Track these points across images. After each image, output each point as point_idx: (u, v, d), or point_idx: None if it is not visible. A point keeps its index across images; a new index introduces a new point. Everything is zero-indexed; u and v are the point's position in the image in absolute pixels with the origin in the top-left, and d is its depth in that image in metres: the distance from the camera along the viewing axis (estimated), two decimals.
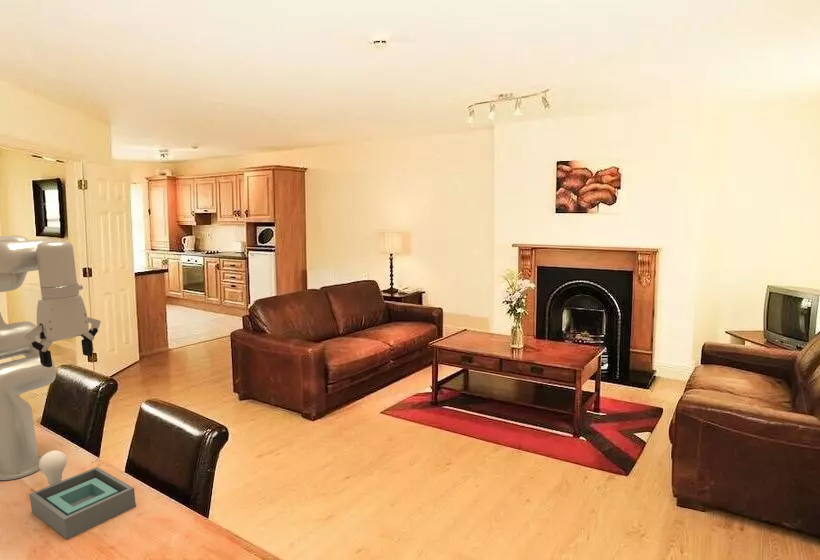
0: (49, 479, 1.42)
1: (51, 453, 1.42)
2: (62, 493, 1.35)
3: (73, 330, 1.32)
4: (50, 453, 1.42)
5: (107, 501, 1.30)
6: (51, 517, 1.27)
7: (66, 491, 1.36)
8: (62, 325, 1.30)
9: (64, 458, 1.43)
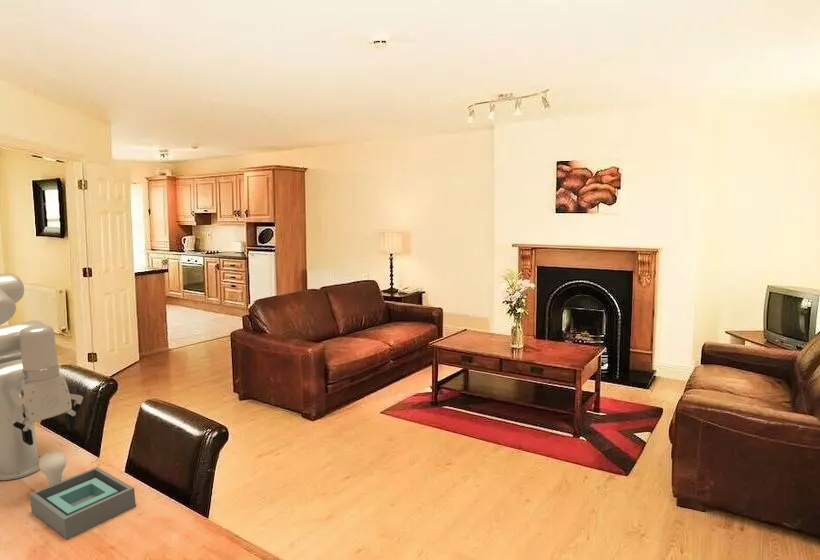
0: (49, 479, 1.42)
1: (51, 453, 1.42)
2: (62, 493, 1.35)
3: None
4: (50, 453, 1.42)
5: (107, 501, 1.30)
6: (51, 517, 1.27)
7: (66, 491, 1.36)
8: None
9: (64, 458, 1.43)
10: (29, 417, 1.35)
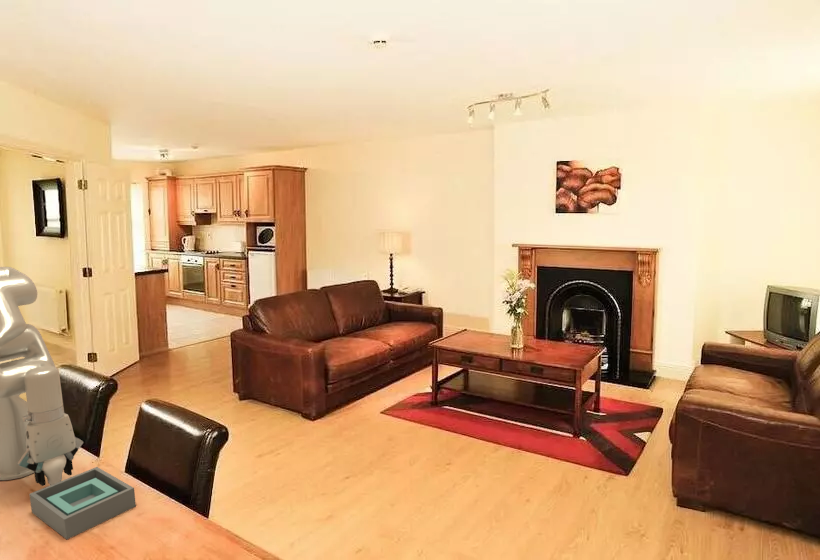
0: (49, 479, 1.42)
1: None
2: (62, 493, 1.35)
3: None
4: None
5: (107, 501, 1.30)
6: (51, 517, 1.27)
7: (66, 491, 1.36)
8: None
9: (63, 458, 1.43)
10: (34, 458, 1.37)
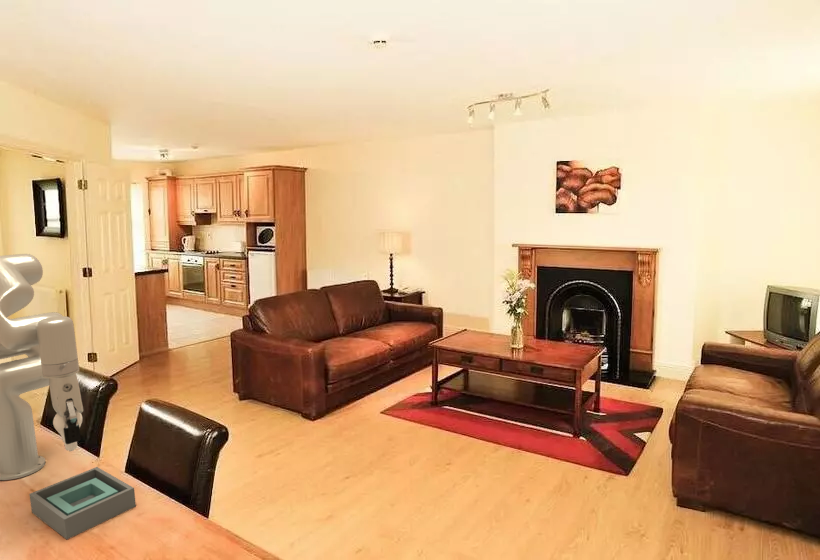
0: None
1: None
2: (62, 493, 1.35)
3: (55, 408, 1.31)
4: None
5: (107, 501, 1.30)
6: (51, 517, 1.27)
7: (66, 491, 1.36)
8: (52, 399, 1.32)
9: None
10: (82, 407, 1.31)
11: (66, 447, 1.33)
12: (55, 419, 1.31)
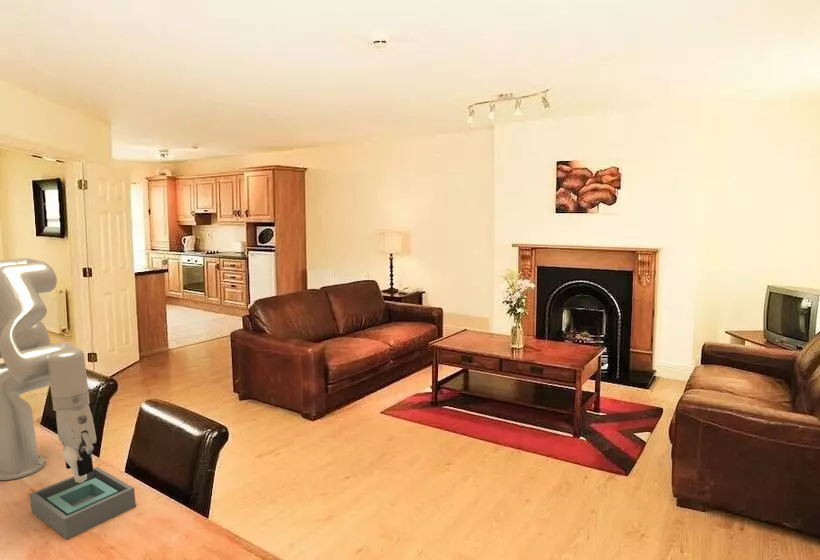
0: None
1: None
2: (62, 493, 1.35)
3: (67, 441, 1.30)
4: None
5: (107, 501, 1.30)
6: (51, 517, 1.27)
7: (66, 491, 1.36)
8: (61, 432, 1.31)
9: None
10: (95, 438, 1.32)
11: (77, 479, 1.33)
12: (67, 452, 1.30)
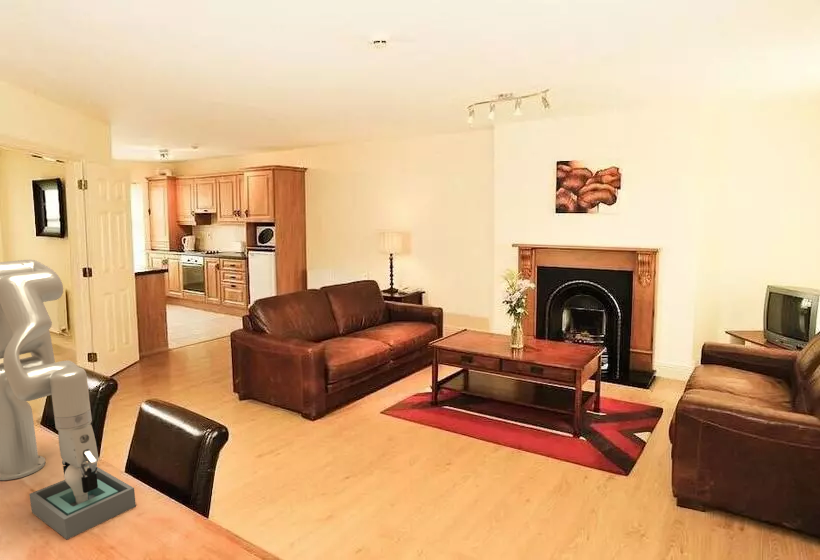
0: None
1: None
2: (62, 493, 1.35)
3: (69, 459, 1.31)
4: None
5: (107, 501, 1.30)
6: (51, 517, 1.27)
7: (66, 491, 1.36)
8: (63, 450, 1.32)
9: None
10: (97, 456, 1.32)
11: (78, 501, 1.34)
12: (67, 473, 1.32)
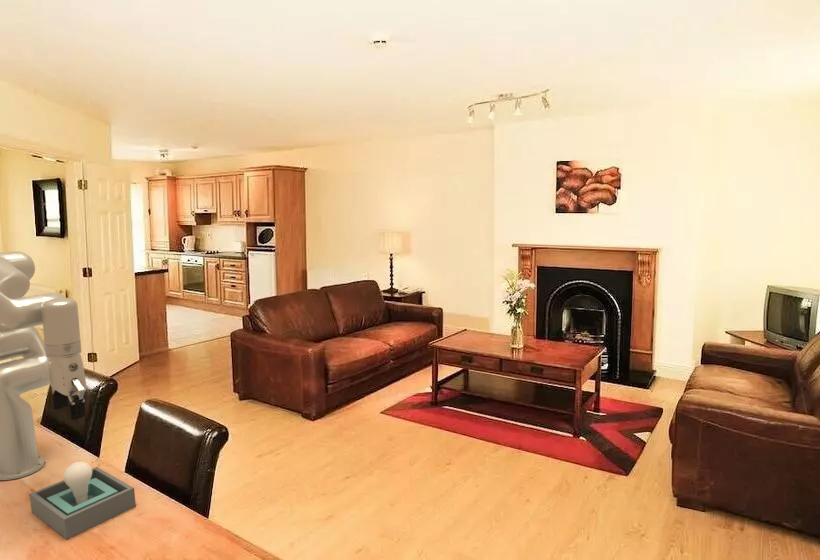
0: (85, 489, 1.35)
1: (79, 462, 1.35)
2: (62, 493, 1.35)
3: (58, 387, 1.34)
4: (79, 462, 1.34)
5: (107, 501, 1.30)
6: (51, 517, 1.27)
7: (66, 491, 1.36)
8: (52, 378, 1.35)
9: None
10: None
11: (78, 501, 1.34)
12: (67, 474, 1.32)
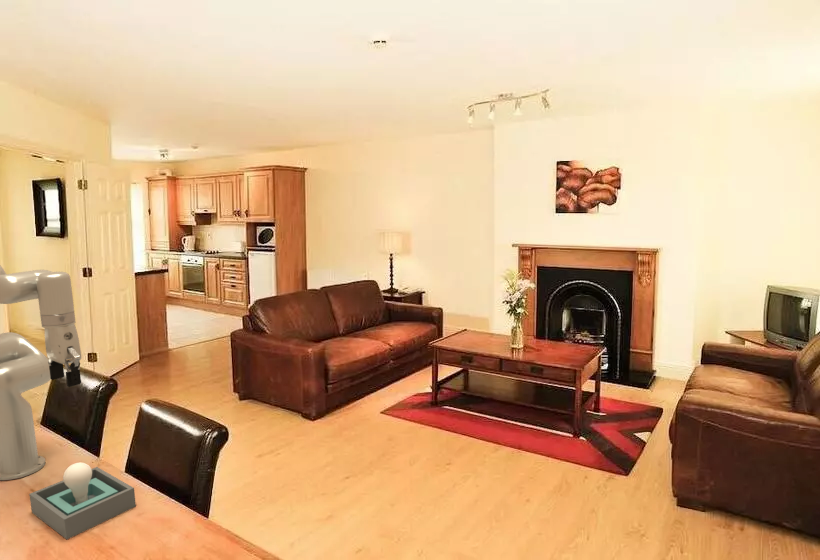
0: (85, 490, 1.35)
1: (79, 463, 1.34)
2: (62, 493, 1.35)
3: (54, 356, 1.41)
4: (79, 464, 1.34)
5: (107, 501, 1.30)
6: (51, 517, 1.27)
7: (66, 491, 1.36)
8: (49, 348, 1.42)
9: None
10: None
11: (78, 502, 1.34)
12: (67, 476, 1.31)
